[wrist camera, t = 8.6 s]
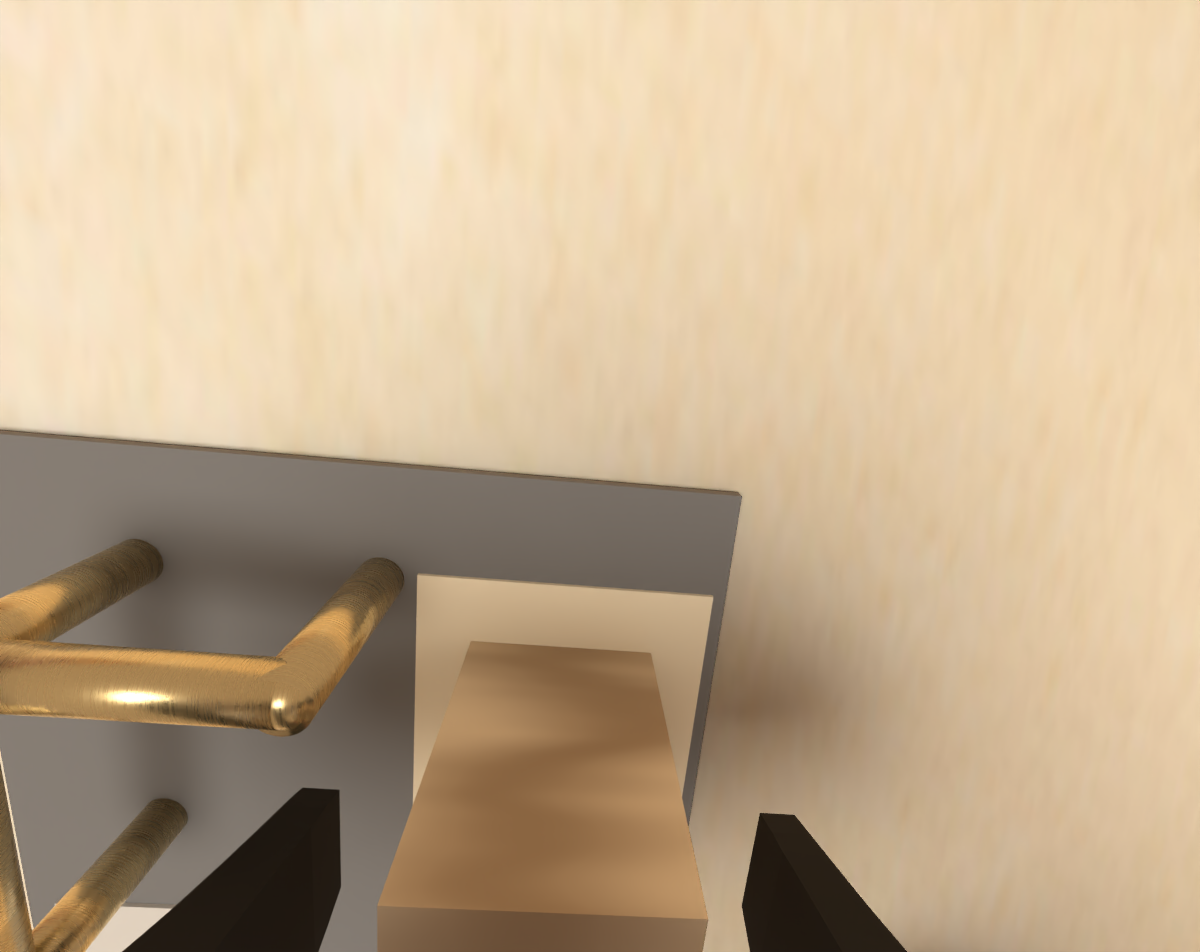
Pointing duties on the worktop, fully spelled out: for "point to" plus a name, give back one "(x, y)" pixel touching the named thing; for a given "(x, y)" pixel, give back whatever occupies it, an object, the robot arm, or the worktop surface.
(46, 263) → the worktop surface
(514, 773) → the birch block
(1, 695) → the bent wire
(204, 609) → the mat
